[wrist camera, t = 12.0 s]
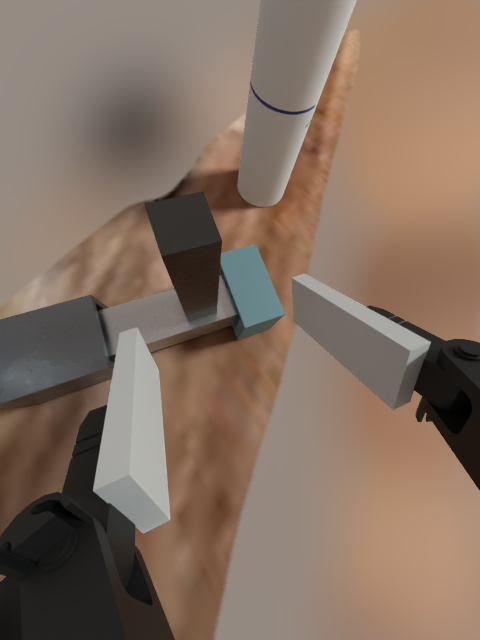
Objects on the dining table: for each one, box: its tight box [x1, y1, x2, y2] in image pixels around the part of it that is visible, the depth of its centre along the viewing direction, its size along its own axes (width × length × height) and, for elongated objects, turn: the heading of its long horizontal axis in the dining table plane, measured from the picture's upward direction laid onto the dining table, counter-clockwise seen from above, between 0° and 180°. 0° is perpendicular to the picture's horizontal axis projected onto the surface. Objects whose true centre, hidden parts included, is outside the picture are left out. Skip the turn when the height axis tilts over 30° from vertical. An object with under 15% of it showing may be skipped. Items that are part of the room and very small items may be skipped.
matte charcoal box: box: [0, 295, 115, 409], centre depth 23 cm, size 10×7×7 cm
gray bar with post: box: [97, 192, 240, 362], centre depth 19 cm, size 18×5×17 cm, turn 110°
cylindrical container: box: [237, 0, 356, 207], centre depth 24 cm, size 7×7×25 cm
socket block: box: [220, 244, 285, 340], centre depth 27 cm, size 4×8×7 cm, turn 20°
